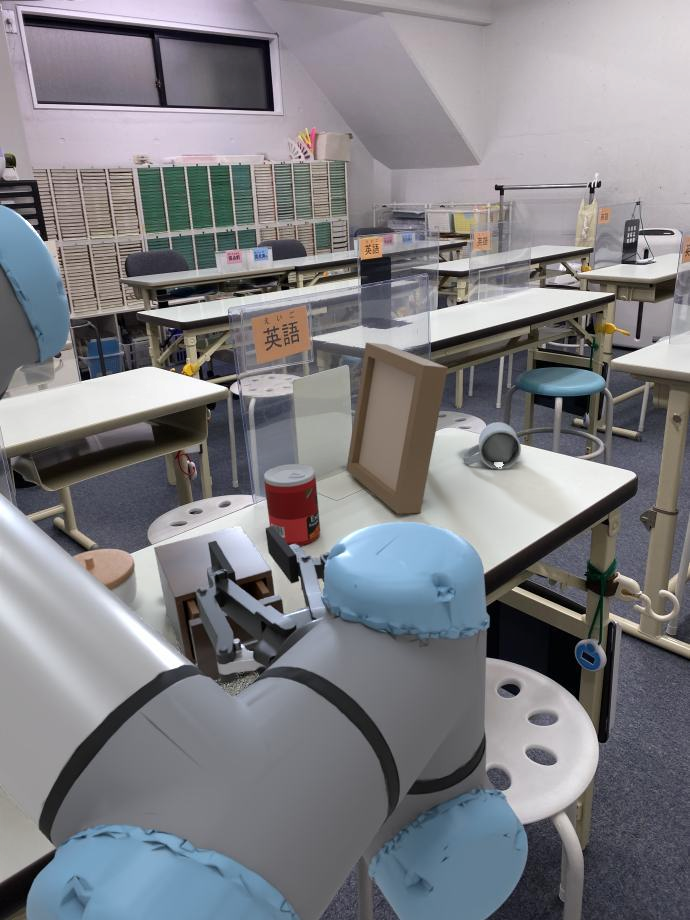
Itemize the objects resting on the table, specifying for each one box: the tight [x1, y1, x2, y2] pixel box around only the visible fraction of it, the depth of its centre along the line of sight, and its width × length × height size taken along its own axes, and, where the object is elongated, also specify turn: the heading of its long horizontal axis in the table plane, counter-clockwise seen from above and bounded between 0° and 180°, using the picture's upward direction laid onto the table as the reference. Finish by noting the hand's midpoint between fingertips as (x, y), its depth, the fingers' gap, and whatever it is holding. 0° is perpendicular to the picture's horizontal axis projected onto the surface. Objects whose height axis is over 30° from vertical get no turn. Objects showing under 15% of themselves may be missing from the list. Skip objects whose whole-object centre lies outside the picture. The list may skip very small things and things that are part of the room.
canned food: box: [263, 463, 321, 547], centre depth 108 cm, size 8×8×11 cm
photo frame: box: [345, 342, 449, 514], centre depth 120 cm, size 15×22×25 cm
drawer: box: [182, 579, 285, 681], centre depth 80 cm, size 16×10×8 cm, turn 24°
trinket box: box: [72, 548, 138, 609], centre depth 90 cm, size 11×11×9 cm
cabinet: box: [153, 525, 276, 665], centre depth 87 cm, size 14×12×10 cm
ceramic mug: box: [462, 421, 522, 469], centre depth 131 cm, size 11×8×8 cm
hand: (242, 547), depth 65 cm, fingers open, 5 cm apart
